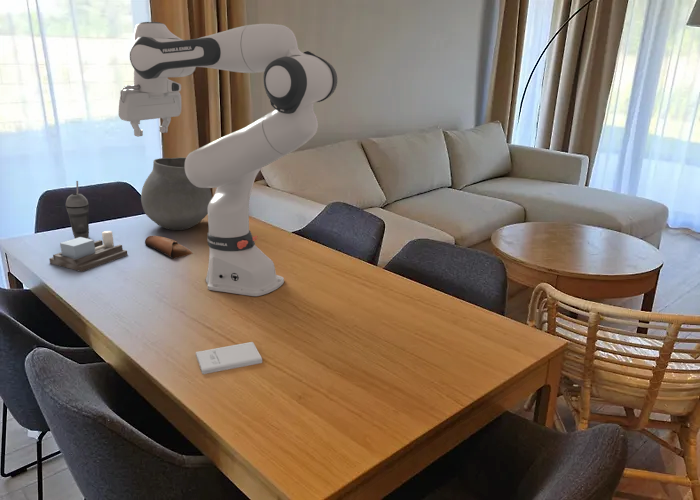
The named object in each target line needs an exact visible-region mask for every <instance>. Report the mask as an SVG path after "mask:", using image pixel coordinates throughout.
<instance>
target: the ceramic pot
mask: <svg viewBox="0 0 700 500" xmlns="http://www.w3.org/2000/svg"><path fill="white" fill-rule="evenodd" d="M185 160H186V157H172V158H170V157H160V158H155V159H154V160H152V161H153V167H152V170H151V172H150V174H149V175H148V176H147V178H146V179H145V181H144V184H143V186H142V188H141V189H142V190H141V194H140V201H141V206H142V209H143V212H144V214H145V215H146V217H148V218H149V219H150V220H151V221H153V222H154V223H155V224H157V225H158V226H159V227H162V228H164V229H165V230H172V231H184V230H187V229H190V228H193V227H194V226H196V225H197V224H199V223H200V222H201V221H202V220H204V219H205V218H206V217H207V216H208V209H207V208H208V204H209V202H210V200H211V199H212V198H213V196H212V190H211V188H200V187H196V186H195V185H193V184H192V183H191V182H190V181H189V179H188V178H187V176H186V173H185Z"/></svg>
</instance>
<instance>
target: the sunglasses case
mask: <svg viewBox="0 0 700 500" xmlns="http://www.w3.org/2000/svg"><path fill="white" fill-rule="evenodd" d="M144 245H145V246H147V247H149V248H152V249H155V250H156V251H158V252H160V253H162V254H163V255H166V256H168V257H170V258H171V259H177V258H182V257H186V256H188V255H193V254H194V253H193V252H192V251H191V250H190V249H188V248H187V247H185V246H184V245H182V244H180V243H178V241H176V240H175V239H171V238H169V237H164V236H159V235H148V236H146V238H145V240H144Z"/></svg>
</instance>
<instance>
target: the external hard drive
mask: <svg viewBox="0 0 700 500" xmlns="http://www.w3.org/2000/svg"><path fill="white" fill-rule="evenodd" d="M195 357H196V360H197V363H198V364H199V368H200V372H201V374H202V375H206V374H211V373H216V372H217V373H218V372H222V371H227V370H233V369H238V368H243V367H247V366H253V365H258V364H263V357H262V356H261V354H260V353H259V350H258V349H257V346H256V344H255V343H254V341H250V342H245V343H239V344H232V345H227V346H221V347H217V348H211V349H205V350H200V351H195Z"/></svg>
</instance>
